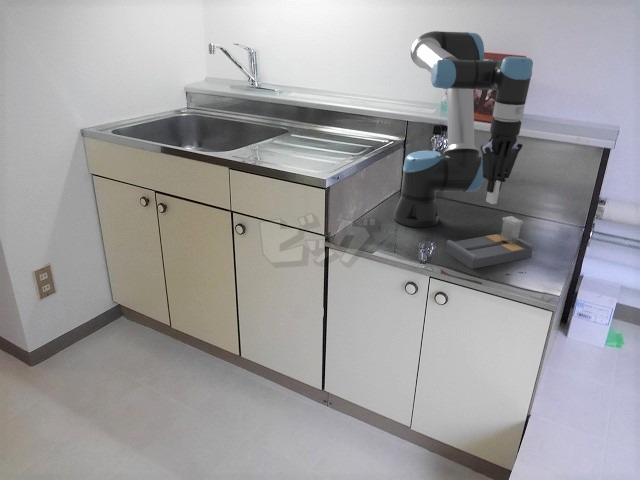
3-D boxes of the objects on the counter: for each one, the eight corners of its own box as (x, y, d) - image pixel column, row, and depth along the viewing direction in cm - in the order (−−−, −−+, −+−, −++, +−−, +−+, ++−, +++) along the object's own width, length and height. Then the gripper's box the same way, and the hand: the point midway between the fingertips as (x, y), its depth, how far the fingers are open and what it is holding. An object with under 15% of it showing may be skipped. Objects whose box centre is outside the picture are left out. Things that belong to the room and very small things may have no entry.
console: (445, 252, 154) (446, 240, 152) (502, 241, 162) (504, 230, 161) (471, 269, 144) (473, 256, 142) (530, 257, 152) (533, 245, 151)
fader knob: (498, 238, 156) (502, 216, 153) (507, 236, 157) (512, 215, 154) (509, 244, 152) (513, 222, 149) (518, 242, 153) (523, 220, 150)
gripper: (497, 123, 130) (481, 209, 140) (536, 120, 135) (518, 204, 145) (478, 117, 137) (464, 200, 147) (515, 114, 142) (499, 195, 152)
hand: (491, 202), depth 146 cm, fingers closed
